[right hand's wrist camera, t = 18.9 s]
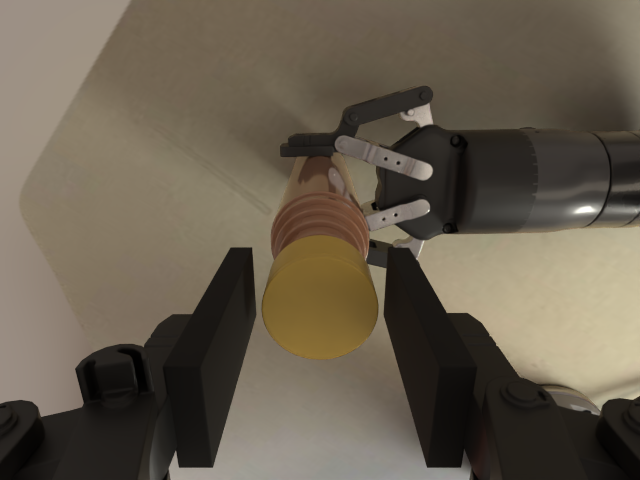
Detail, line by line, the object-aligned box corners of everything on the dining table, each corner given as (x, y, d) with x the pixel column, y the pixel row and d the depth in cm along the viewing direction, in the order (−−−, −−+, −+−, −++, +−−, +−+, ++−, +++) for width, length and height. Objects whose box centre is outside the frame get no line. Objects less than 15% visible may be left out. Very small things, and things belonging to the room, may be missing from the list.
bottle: (343, 196, 37) (380, 364, 14) (292, 192, 36) (248, 356, 14) (348, 144, 35) (399, 241, 12) (295, 140, 35) (251, 231, 12)
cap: (268, 233, 14) (260, 255, 12) (374, 235, 14) (383, 258, 12) (269, 324, 15) (263, 358, 13) (367, 327, 15) (373, 361, 13)
